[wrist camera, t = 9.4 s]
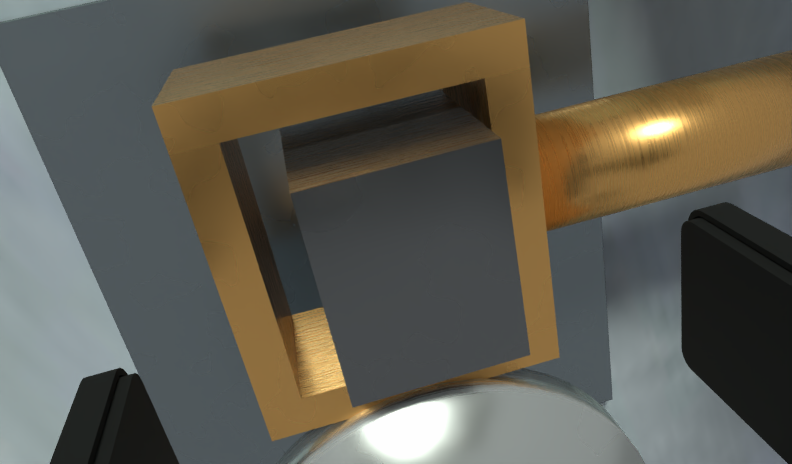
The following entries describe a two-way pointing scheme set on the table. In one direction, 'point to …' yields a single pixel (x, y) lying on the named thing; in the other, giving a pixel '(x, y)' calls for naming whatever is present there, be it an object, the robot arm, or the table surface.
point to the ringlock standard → (278, 225)
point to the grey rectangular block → (408, 242)
